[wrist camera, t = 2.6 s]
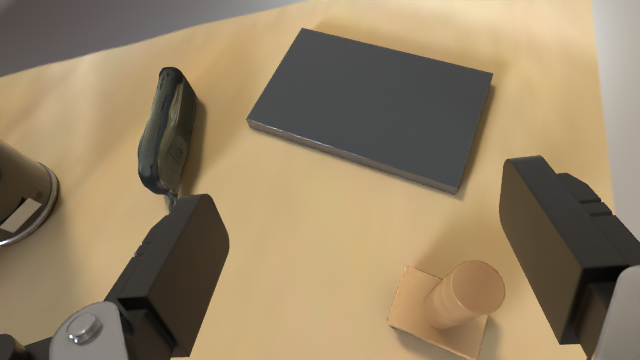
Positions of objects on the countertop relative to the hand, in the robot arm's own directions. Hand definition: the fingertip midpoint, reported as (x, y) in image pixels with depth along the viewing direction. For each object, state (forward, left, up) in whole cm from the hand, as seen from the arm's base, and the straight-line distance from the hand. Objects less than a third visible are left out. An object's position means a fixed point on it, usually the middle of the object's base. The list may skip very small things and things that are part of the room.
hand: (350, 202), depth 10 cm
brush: (+6, +2, -23) cm, 23 cm away
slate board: (-6, +20, -23) cm, 31 cm away
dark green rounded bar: (-23, +8, -23) cm, 34 cm away
